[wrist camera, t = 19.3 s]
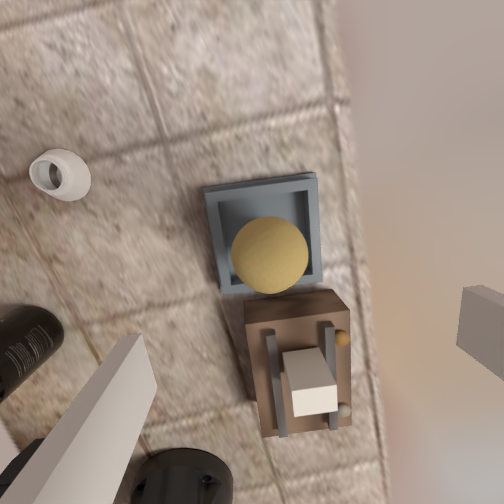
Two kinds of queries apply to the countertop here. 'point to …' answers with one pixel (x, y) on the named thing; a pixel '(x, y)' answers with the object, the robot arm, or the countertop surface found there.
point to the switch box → (292, 339)
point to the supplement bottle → (26, 345)
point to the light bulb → (269, 254)
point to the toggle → (309, 382)
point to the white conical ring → (61, 175)
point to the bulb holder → (261, 205)
